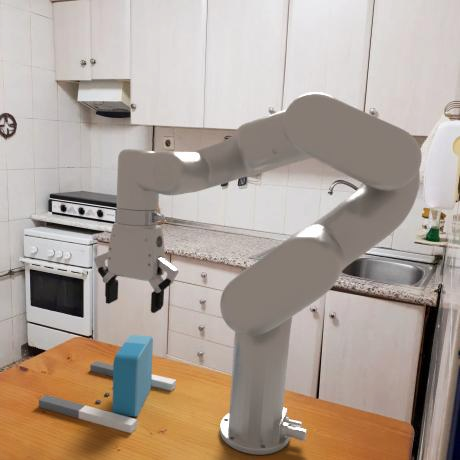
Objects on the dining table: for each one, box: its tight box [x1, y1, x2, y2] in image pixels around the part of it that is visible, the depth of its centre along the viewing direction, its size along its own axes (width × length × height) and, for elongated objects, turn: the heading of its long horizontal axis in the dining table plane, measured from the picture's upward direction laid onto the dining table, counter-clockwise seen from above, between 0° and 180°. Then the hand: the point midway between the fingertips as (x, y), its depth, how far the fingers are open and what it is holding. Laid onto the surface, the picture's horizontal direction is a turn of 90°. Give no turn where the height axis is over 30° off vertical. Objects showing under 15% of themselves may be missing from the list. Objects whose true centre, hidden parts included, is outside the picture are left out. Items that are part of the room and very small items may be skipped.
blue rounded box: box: [112, 334, 154, 418], centre depth 90 cm, size 12×4×12 cm, turn 176°
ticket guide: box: [38, 360, 177, 434], centre depth 92 cm, size 20×18×2 cm
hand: (133, 306), depth 88 cm, fingers open, 9 cm apart
